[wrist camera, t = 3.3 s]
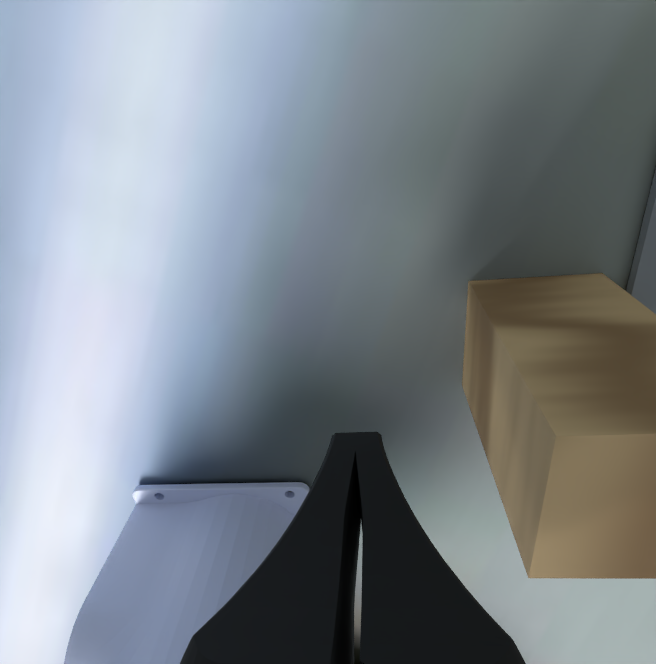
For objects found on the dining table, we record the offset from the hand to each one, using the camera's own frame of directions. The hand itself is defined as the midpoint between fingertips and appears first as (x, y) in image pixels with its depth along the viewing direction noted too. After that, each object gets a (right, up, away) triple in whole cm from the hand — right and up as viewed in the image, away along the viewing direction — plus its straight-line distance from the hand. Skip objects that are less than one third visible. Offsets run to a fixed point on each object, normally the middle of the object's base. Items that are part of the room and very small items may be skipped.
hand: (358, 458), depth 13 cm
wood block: (+7, +4, +5) cm, 10 cm away
